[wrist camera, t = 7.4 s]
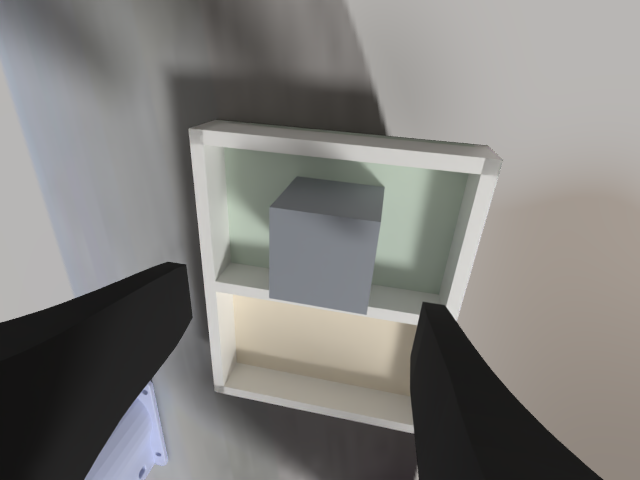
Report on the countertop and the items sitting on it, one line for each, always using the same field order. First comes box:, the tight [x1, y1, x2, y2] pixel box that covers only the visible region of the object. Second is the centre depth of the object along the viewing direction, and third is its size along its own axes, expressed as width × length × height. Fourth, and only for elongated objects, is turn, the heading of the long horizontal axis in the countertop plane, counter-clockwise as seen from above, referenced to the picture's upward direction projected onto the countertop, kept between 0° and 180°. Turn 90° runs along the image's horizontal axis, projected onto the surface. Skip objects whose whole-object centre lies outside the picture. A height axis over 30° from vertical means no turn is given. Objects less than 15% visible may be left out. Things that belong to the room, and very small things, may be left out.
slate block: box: [269, 176, 385, 315], centre depth 16 cm, size 4×4×4 cm
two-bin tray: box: [188, 120, 503, 434], centre depth 18 cm, size 15×12×2 cm
